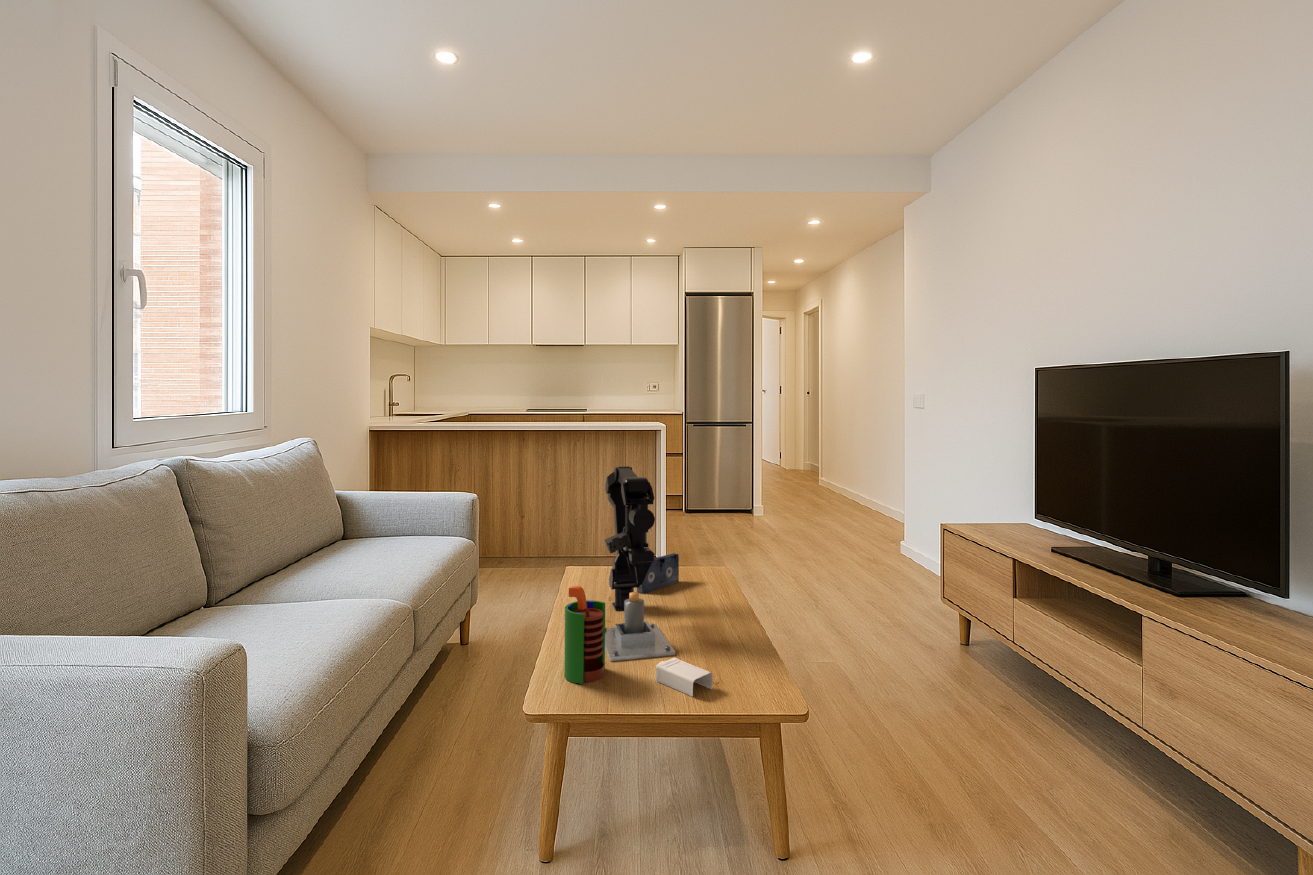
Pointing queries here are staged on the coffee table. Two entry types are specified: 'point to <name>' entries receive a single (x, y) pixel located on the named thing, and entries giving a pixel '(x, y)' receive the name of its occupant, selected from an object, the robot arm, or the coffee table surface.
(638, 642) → the pump mount
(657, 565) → the vhs cassette tape
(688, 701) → the coffee table surface
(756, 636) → the coffee table surface
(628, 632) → the grey and orange piece
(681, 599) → the coffee table surface
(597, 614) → the motor
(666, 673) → the white plastic end cap
